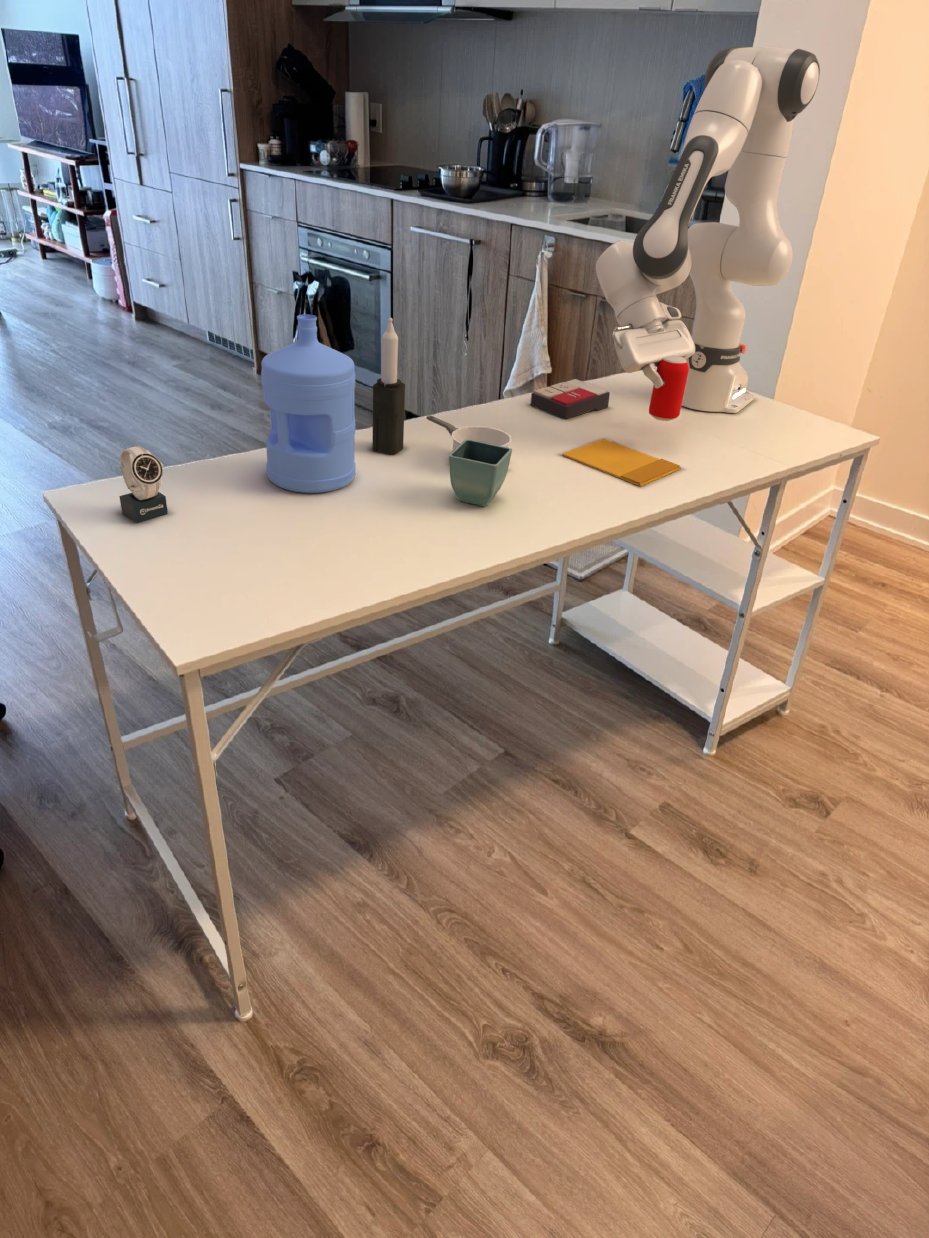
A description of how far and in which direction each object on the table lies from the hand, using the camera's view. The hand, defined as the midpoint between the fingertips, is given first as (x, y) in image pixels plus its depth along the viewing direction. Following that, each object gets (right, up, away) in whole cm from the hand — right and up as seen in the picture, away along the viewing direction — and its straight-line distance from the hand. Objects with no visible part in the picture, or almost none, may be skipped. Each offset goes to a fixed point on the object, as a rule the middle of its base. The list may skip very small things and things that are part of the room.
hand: (672, 384), depth 171 cm
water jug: (-69, -21, -17) cm, 74 cm away
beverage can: (-1, -6, +4) cm, 7 cm away
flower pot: (-39, -26, -20) cm, 51 cm away
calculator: (-17, +2, +26) cm, 32 cm away
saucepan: (-42, -16, -4) cm, 45 cm away
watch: (-93, -30, -33) cm, 103 cm away
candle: (-57, -14, -3) cm, 58 cm away
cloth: (-10, -16, 0) cm, 19 cm away
